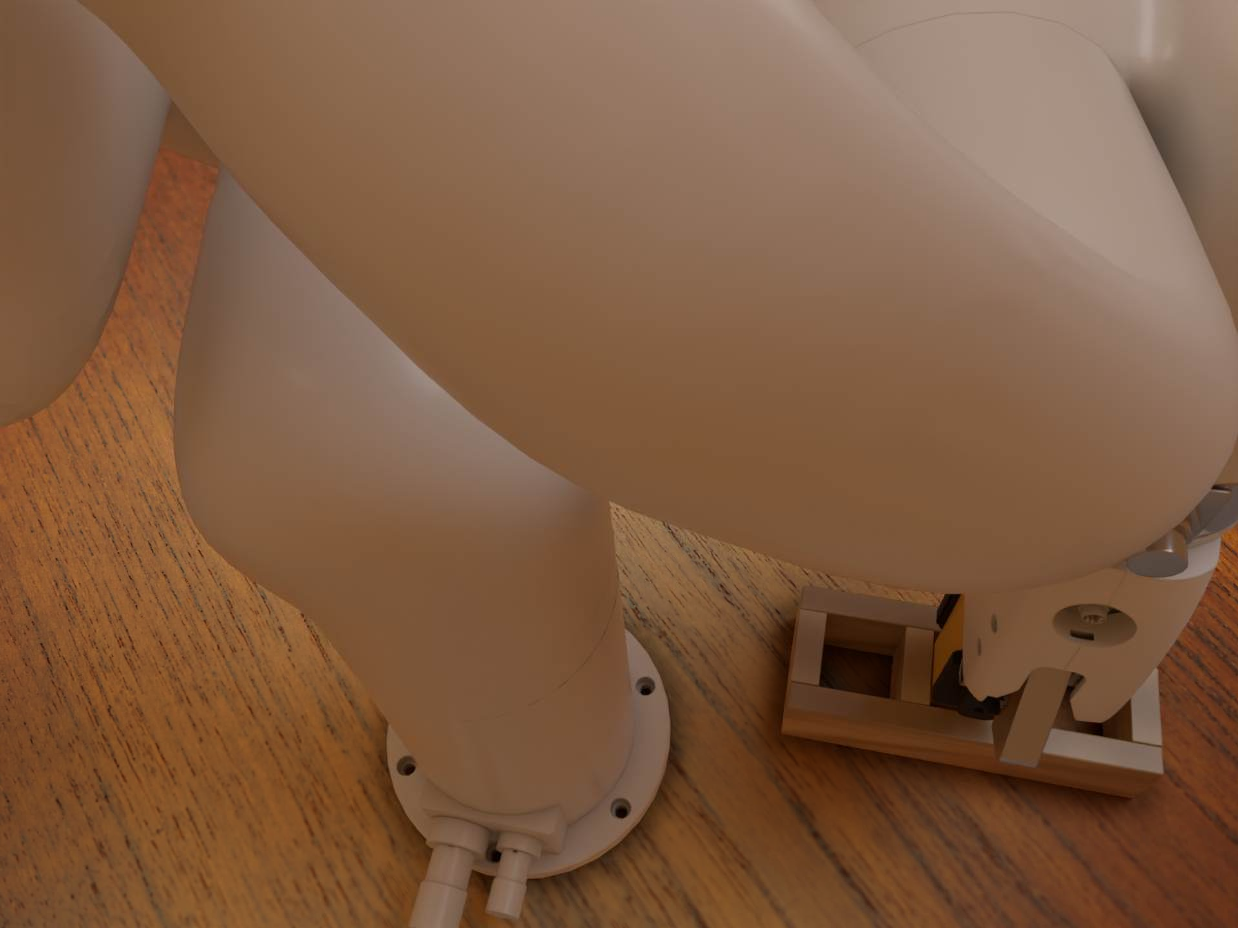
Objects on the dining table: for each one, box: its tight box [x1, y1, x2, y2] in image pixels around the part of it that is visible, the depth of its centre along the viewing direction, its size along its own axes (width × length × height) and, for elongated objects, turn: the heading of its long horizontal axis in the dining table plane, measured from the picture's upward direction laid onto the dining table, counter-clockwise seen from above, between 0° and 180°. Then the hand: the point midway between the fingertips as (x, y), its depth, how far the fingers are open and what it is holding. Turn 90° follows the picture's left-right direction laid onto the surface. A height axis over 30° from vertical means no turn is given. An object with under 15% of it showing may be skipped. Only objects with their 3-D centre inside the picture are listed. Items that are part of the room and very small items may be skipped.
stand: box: [780, 584, 1165, 799], centre depth 47 cm, size 6×15×4 cm, turn 78°
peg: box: [929, 594, 965, 711], centre depth 44 cm, size 3×3×10 cm
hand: (973, 662), depth 44 cm, fingers closed on peg, 2 cm apart
